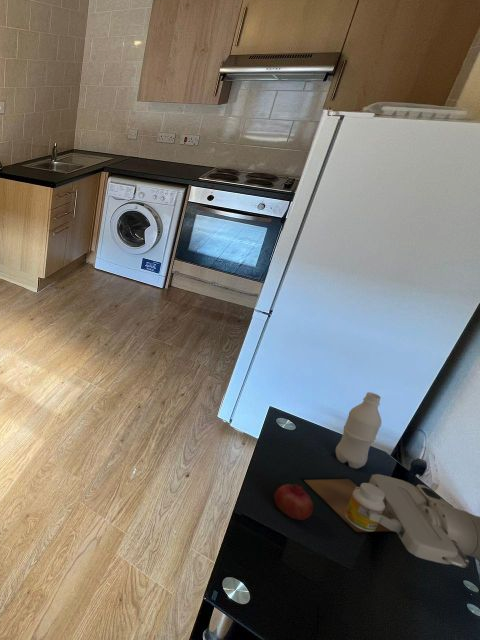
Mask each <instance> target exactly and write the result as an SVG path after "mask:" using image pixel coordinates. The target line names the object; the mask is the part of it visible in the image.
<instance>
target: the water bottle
mask: <svg viewBox="0 0 480 640" xmlns="http://www.w3.org/2000/svg"><path fill="white" fill-rule="evenodd" d="M362 400H363V401H362V402H361V403H359V404H358V405H356V406H354V407H353V408H351V409H350V410H349V412H348V416H347V419H346V422H345V424H344V426H343V433H342V436H341V439H340V441H339V442H338V444H336V447H335V451H334V452H335V456H336V457H335V458H336V459H337V460H338V461H339V463H341V464H346V463H348V467H350V468H352V469H360V468H363V467H364V466H366V464H367V461H368V459H369V450H370V448H371V446H372V444H373V443H374V442H375V440H376V437H377V435H378V432H379V430H380V427H382V418H381V415H380V411H379V406H380V404H381V402H380V401H381V396H380V395H379V394H377V393H374V392H366V394H365V396H364V397H363V399H362Z"/></svg>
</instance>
